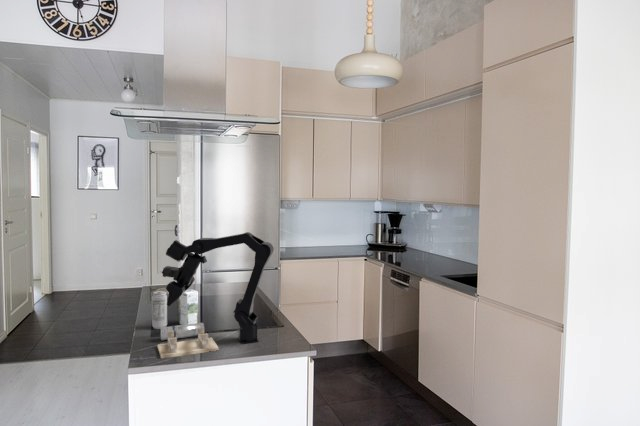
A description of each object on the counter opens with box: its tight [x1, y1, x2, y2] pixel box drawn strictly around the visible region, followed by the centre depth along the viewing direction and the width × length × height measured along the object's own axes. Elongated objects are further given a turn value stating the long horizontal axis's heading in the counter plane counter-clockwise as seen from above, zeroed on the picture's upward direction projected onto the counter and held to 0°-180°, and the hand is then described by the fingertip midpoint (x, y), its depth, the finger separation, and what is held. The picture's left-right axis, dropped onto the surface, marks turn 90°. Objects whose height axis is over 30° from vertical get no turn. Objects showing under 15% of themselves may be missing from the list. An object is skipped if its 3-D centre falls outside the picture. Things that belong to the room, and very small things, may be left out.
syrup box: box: [178, 289, 199, 325], centre depth 196 cm, size 6×6×14 cm
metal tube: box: [160, 322, 205, 341], centre depth 178 cm, size 16×5×5 cm, turn 115°
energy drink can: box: [151, 290, 168, 330], centre depth 190 cm, size 6×6×15 cm
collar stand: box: [157, 326, 219, 359], centre depth 167 cm, size 20×12×6 cm, turn 115°
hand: (171, 301), depth 178 cm, fingers open, 9 cm apart
